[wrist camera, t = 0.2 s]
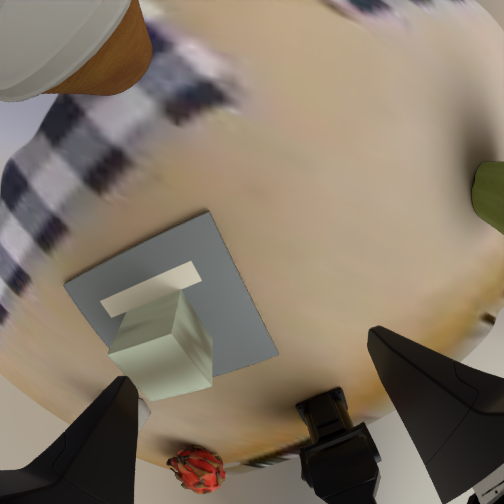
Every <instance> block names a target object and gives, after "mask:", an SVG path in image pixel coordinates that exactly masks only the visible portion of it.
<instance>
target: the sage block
mask: <svg viewBox="0 0 504 504" xmlns="http://www.w3.org/2000/svg"><path fill="white" fill-rule="evenodd" d="M212 343H213V339H212V337H211V336H210V334H209V333H208V331H207V330H206V328H205V327H204V325H203V324H202V322H201V321H200V319H199V317H198V316H197V314H196V313H195V311H194V309H193V308H192V306H191V305H190V303H189V301H188V300H187V298H186V296H185V295H184V293H183V291H182V290H179V291H176V292H174V293H171V294H169V295H167V296H164V297H162V298H159V299H157V300H154V301H152V302H149V303H147V304H145V305H142V306H140V307H137V308H135V309H132V310H130V311H127V312H126V314H125V317H124V319H123V321H122V323H121V325H120V327H119V329H118V332H117V334H116V336H115V338H114V340H113V343H112V345H111V347H110V350H109V352H108V354H107V355H108V356H109V357H110V359H111V360H112V361H113V362H114V363H115V364H116V365H117V367H118V368H119V369H120V370H121V371H122V372H123V373H124V374H125V375H126V376H128V377H129V378H130V379H131V381H132V382H133V384H134V385H135V386H136V387H137V388H138V389H139V390H140V391H141V392H142V393H143V394H144V395H145V396H146V397H147V398H148V399H149V400H150V401H156V400H160V399H165V398H169V397H174V396H178V395H182V394H186V393H190V392H194V391H198V390H201V389H205V388H209V387H212Z"/></svg>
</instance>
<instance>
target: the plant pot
mask: <svg viewBox="0 0 504 504" xmlns="http://www.w3.org/2000/svg"><path fill="white" fill-rule="evenodd" d="M472 202H473V207H474V210H475V212H476V214H477V215H478V216H479V217H480V218H481V219H482V220H484V221H485V222H487V223H488V224H490V225H491V226H492V227H494V228H495V229H497V230H498V231H499V232H501V233H502V234H503V235H504V162H484V163H482V164H481V165H480V166H479V168H478V169H477V171H476V174H475V183H474V185H473V187H472Z"/></svg>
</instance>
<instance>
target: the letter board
mask: <svg viewBox="0 0 504 504" xmlns="http://www.w3.org/2000/svg"><path fill="white" fill-rule="evenodd" d="M63 286H64V288H65V289H66V291H67V292H68V294H69V295H70V297H71V298H72V300H73V301H74V303H75V304H76V306H77V307H78V309H79V310H80V311H81V313H82V314H83V316H84V317H85V318H86V320H87V321H88V322H89V324H90V325H91V326H92V328H93V329H94V330H95V332H96V333H97V334H98V336H99V337H100V338H101V339H102V341H103V342H104V343H105V344H106V346H107V347H108V348H109V349H110V347H111V345H112V343H113V340H114V338H115V336H116V334H117V332H118V329H119V327H120V325H121V323H122V321H123V319H124V317H125V314H126V312H127V311H130V310H132V309H135V308H137V307H140V306H142V305H145V304H147V303H149V302H152V301H154V300H157V299H159V298H162V297H164V296H167V295H169V294H171V293H174V292H176V291H179V290H182V291H183V293H184V295H185V296H186V298H187V300H188V301H189V303H190V305H191V306H192V308H193V309H194V311H195V313H196V314H197V316H198V317H199V319H200V321H201V322H202V324H203V325H204V327H205V328H206V330H207V331H208V333H209V334H210V336H211V337H212V339H213V343H212V377H216V376H219V375H222V374H225V373H228V372H232V371H235V370H238V369H241V368H244V367H247V366H250V365H252V364H255V363H258V362H261V361H264V360H266V359H269V358H272V357H275V356H277V355H279V354H278V350H277V348H276V346H275V345H274V343H273V341H272V339H271V337H270V335H269V333H268V331H267V329H266V327H265V325H264V323H263V321H262V319H261V317H260V315H259V313H258V311H257V309H256V307H255V305H254V302H253V300H252V298H251V296H250V294H249V292H248V290H247V288H246V286H245V284H244V282H243V280H242V278H241V276H240V274H239V272H238V270H237V268H236V266H235V264H234V261H233V259H232V257H231V255H230V253H229V251H228V249H227V247H226V245H225V243H224V241H223V238H222V236H221V234H220V232H219V230H218V228H217V226H216V224H215V222H214V219H213V217H212V215H211V213H210V211H207V212H205V213H202V214H200V215H198V216H196V217H193V218H191V219H189V220H187V221H185V222H183V223H181V224H178V225H176V226H174V227H172V228H170V229H168V230H166V231H164V232H162V233H159V234H157V235H155V236H153V237H151V238H149V239H147V240H145V241H143V242H141V243H139V244H137V245H135V246H133V247H131V248H129V249H127V250H125V251H123V252H121V253H119V254H118V255H116V256H114V257H112V258H110V259H108V260H106V261H104V262H102V263H100V264H99V265H97V266H95V267H93V268H91V269H89V270H87V271H86V272H84V273H82V274H80V275H78V276H77V277H75V278H73V279H71V280H69V281H68V282H66V283H65V284H64V285H63Z"/></svg>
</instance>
